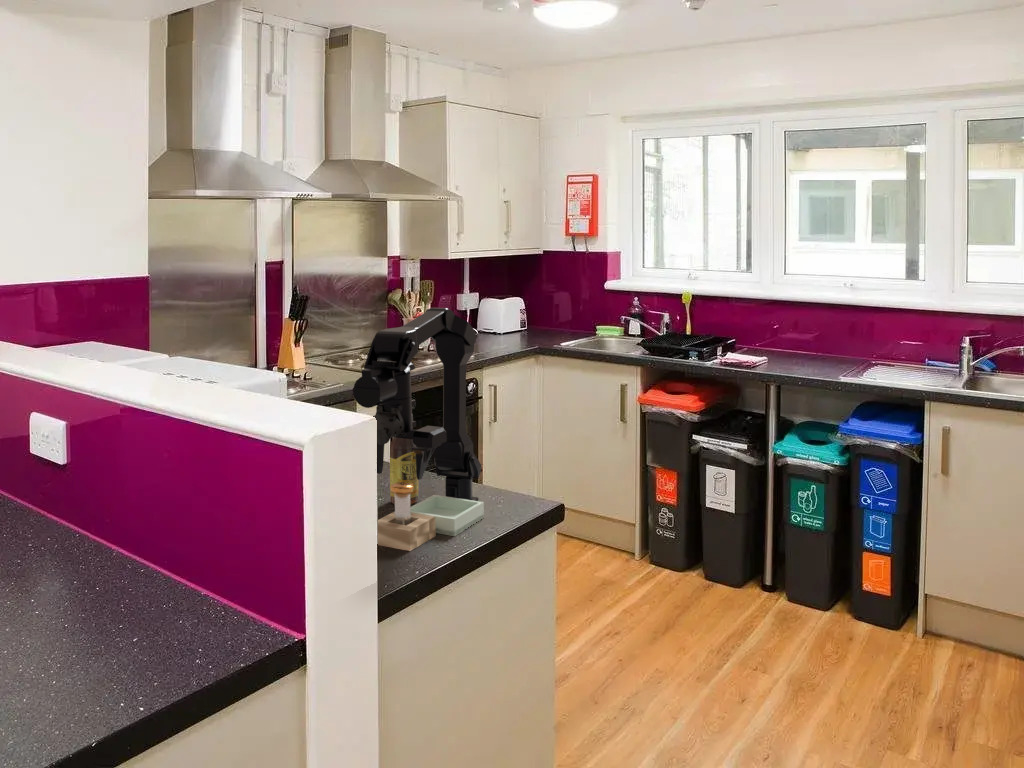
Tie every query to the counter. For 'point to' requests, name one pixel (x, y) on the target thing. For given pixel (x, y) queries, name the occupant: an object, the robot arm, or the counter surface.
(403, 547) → the block
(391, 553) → the counter surface
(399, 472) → the sauce bottle
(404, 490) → the orange-capped jar
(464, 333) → the robot arm
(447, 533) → the sage tray
